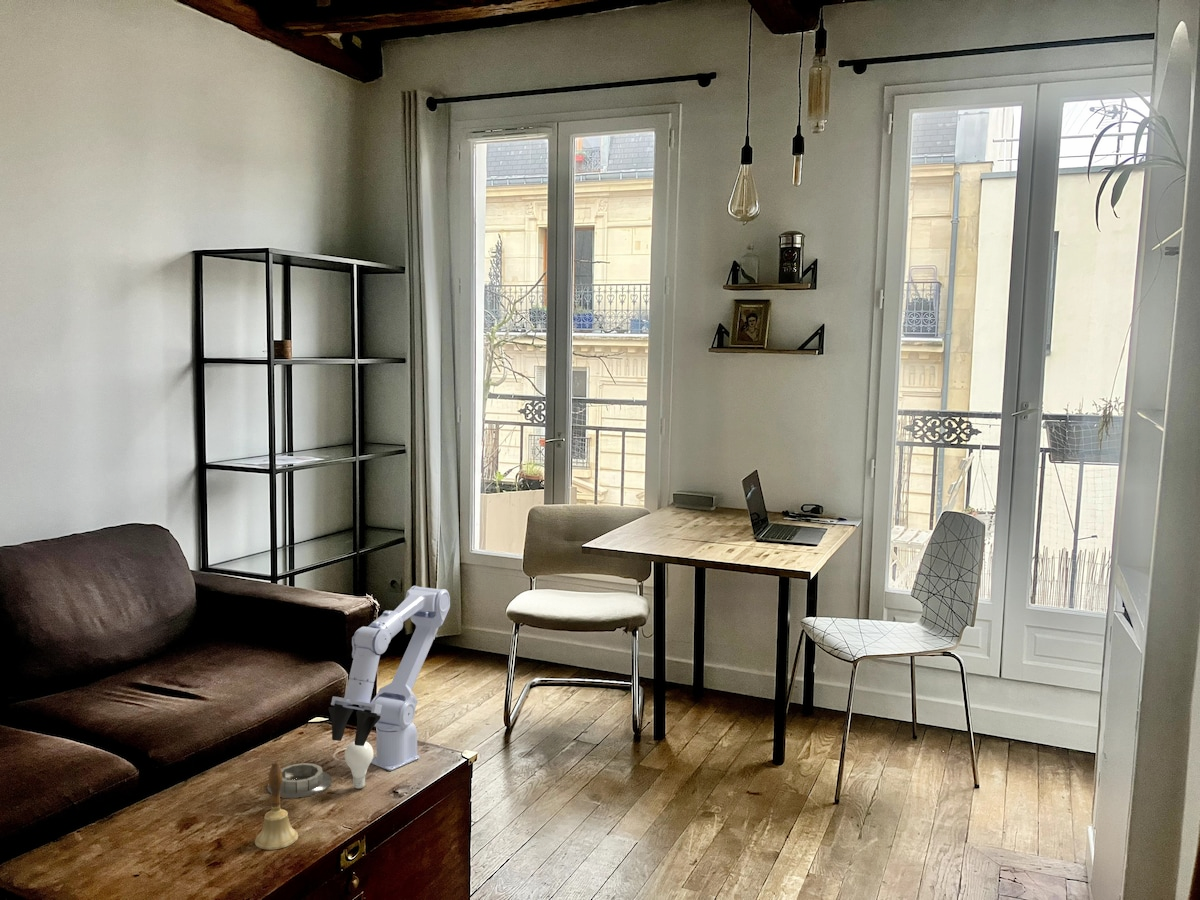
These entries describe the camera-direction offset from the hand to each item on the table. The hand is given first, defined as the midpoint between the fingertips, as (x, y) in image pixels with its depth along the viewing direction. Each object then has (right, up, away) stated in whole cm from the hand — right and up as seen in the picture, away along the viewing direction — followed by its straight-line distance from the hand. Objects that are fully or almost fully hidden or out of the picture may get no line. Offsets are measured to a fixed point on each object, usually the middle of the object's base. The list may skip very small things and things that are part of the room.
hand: (347, 742), depth 208 cm
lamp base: (-12, -11, +4) cm, 17 cm away
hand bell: (-9, -13, -20) cm, 26 cm away
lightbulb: (+2, -11, +3) cm, 12 cm away
